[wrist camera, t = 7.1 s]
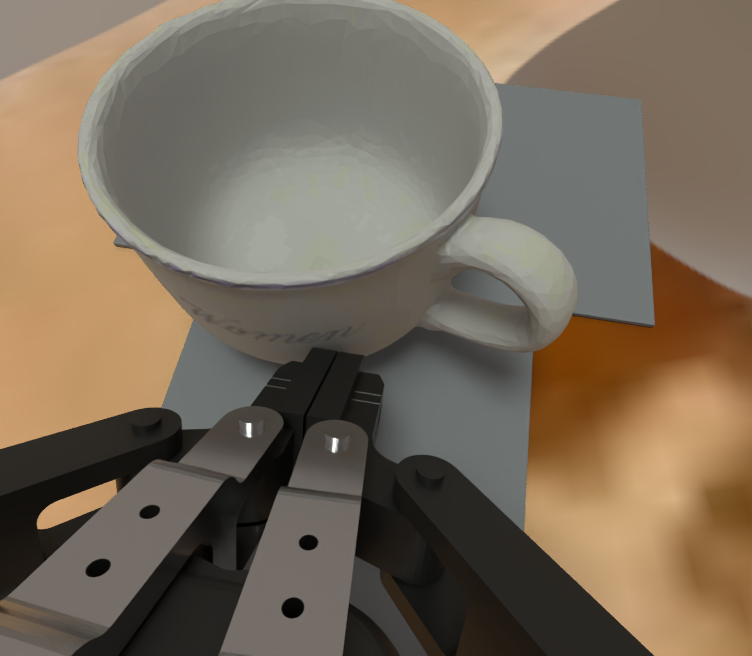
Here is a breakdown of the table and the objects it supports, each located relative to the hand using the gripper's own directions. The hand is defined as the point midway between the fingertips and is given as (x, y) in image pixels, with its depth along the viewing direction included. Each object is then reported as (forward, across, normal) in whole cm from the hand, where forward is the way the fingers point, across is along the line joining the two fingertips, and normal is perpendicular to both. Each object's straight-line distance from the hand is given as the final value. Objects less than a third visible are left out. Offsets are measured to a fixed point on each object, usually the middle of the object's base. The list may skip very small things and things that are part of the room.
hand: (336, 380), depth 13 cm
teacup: (+6, +1, -1) cm, 6 cm away
